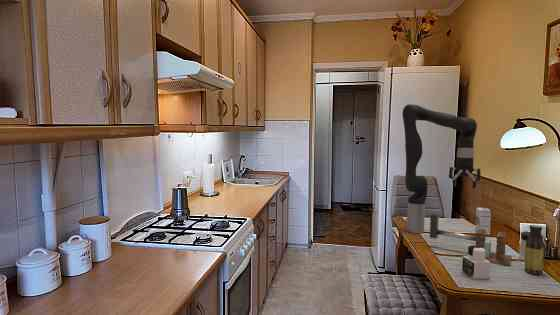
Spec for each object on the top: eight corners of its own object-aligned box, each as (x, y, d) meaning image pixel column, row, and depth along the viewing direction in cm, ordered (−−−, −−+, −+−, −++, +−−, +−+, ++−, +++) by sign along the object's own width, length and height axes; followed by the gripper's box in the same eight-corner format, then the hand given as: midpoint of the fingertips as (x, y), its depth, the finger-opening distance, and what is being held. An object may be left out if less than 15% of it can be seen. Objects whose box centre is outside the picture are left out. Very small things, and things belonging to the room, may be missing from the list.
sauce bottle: (546, 276, 131) (549, 228, 129) (527, 274, 133) (530, 227, 131) (538, 269, 137) (541, 224, 136) (521, 268, 139) (524, 223, 137)
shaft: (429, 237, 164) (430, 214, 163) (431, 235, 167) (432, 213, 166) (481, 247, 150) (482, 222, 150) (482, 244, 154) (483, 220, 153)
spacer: (483, 257, 149) (484, 242, 148) (485, 252, 154) (486, 238, 154) (488, 258, 148) (489, 243, 147) (490, 253, 153) (490, 239, 153)
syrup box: (490, 234, 183) (491, 210, 182) (478, 234, 185) (480, 209, 183) (485, 231, 189) (487, 207, 188) (474, 231, 190) (476, 207, 189)
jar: (546, 261, 146) (548, 235, 145) (536, 264, 142) (538, 238, 141) (524, 254, 154) (525, 230, 153) (514, 257, 150) (516, 232, 150)
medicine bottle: (461, 271, 136) (462, 244, 135) (477, 271, 136) (478, 243, 135) (473, 279, 129) (474, 250, 128) (489, 278, 129) (491, 249, 128)
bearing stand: (468, 257, 150) (469, 232, 150) (472, 250, 160) (473, 226, 159) (510, 266, 141) (511, 239, 140) (511, 257, 150) (512, 233, 149)
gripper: (448, 156, 167) (447, 187, 169) (480, 157, 159) (479, 190, 160) (451, 155, 173) (450, 185, 174) (482, 156, 164) (481, 187, 166)
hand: (464, 187), depth 167 cm, fingers open, 8 cm apart
